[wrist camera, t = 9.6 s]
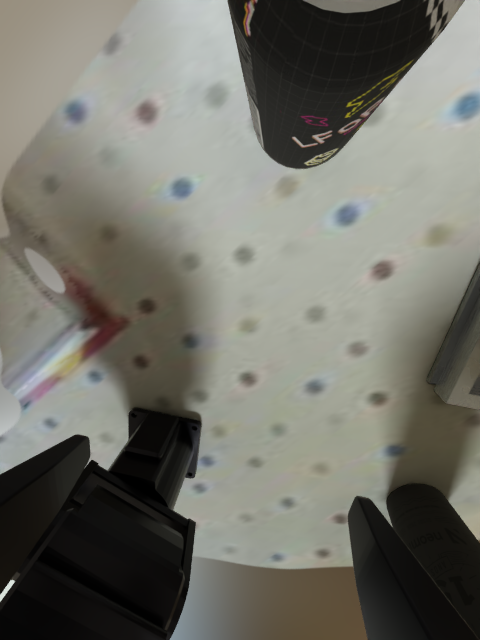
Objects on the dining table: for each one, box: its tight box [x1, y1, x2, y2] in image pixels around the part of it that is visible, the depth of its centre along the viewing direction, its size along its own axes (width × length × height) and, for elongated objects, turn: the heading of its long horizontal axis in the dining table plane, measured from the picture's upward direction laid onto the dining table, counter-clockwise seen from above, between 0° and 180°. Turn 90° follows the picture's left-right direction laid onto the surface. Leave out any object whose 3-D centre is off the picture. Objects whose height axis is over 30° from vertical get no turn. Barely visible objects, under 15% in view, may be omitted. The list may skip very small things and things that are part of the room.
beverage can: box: [228, 0, 465, 169], centre depth 9 cm, size 6×6×12 cm
